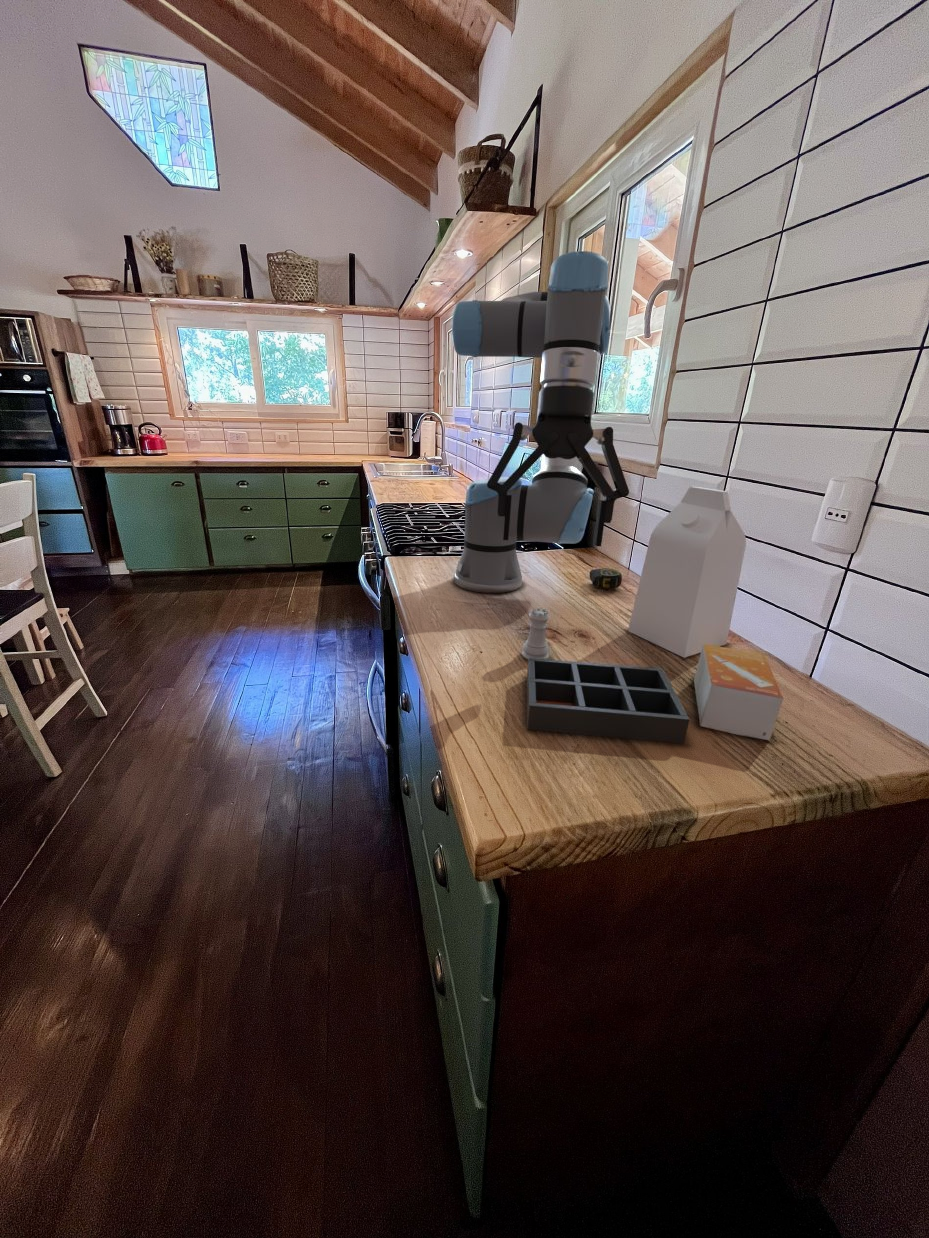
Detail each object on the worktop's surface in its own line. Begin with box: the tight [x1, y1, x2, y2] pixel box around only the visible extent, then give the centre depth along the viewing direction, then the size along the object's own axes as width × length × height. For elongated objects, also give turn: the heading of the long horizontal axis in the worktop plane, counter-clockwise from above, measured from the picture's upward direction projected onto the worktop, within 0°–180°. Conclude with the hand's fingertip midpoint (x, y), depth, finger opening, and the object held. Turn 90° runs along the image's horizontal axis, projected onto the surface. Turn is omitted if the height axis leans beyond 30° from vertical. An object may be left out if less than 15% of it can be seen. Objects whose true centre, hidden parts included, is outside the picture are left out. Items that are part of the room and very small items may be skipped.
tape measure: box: [588, 567, 623, 590], centre depth 113 cm, size 7×7×4 cm
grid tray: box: [526, 658, 690, 745], centre depth 66 cm, size 13×19×4 cm
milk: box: [627, 485, 747, 659], centre depth 84 cm, size 12×12×26 cm
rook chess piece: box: [521, 607, 550, 661], centre depth 79 cm, size 4×4×8 cm
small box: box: [693, 644, 784, 741], centre depth 66 cm, size 8×6×13 cm
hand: (551, 542), depth 75 cm, fingers open, 13 cm apart
